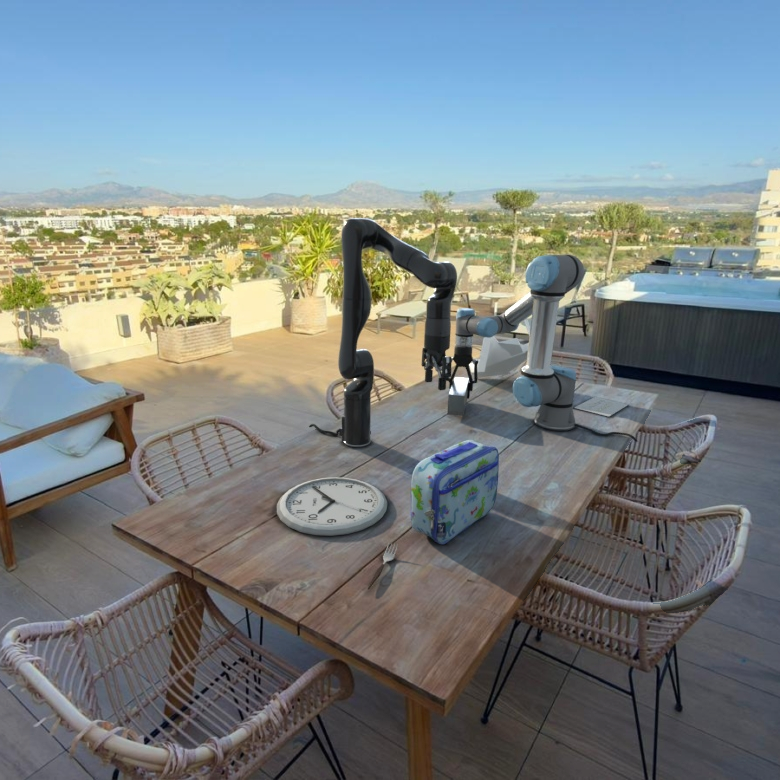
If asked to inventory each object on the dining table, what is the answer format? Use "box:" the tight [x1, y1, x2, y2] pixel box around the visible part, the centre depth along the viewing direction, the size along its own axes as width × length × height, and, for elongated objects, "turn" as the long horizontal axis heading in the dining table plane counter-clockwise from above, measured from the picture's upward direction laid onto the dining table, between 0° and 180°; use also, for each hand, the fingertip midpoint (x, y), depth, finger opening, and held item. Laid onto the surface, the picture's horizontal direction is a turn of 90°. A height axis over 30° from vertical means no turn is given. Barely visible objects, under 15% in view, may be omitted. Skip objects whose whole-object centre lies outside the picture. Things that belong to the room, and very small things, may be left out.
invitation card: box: [573, 396, 629, 418], centre depth 226 cm, size 21×1×15 cm
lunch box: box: [410, 439, 500, 545], centre depth 131 cm, size 26×11×21 cm, turn 134°
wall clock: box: [276, 476, 388, 537], centre depth 142 cm, size 30×2×30 cm
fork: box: [367, 541, 399, 590], centre depth 116 cm, size 3×16×2 cm, turn 160°
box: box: [447, 376, 470, 417], centre depth 219 cm, size 26×6×8 cm, turn 168°
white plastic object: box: [469, 317, 531, 379], centre depth 257 cm, size 37×45×31 cm
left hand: (435, 385), depth 157 cm, fingers open, 8 cm apart
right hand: (460, 396), depth 228 cm, fingers closed on box, 6 cm apart
